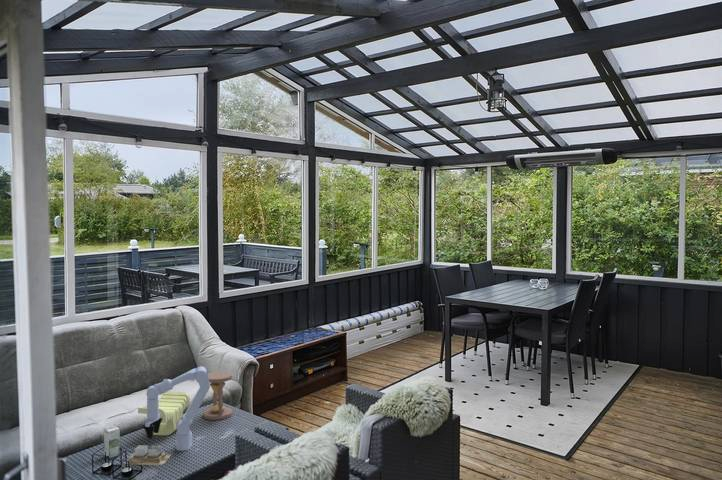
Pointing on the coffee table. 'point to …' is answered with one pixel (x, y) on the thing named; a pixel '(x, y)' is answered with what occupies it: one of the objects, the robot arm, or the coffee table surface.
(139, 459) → the pallet
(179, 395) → the slatted curved stool
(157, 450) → the billet
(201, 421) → the coffee table surface
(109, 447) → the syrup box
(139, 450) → the billet
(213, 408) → the hourglass
